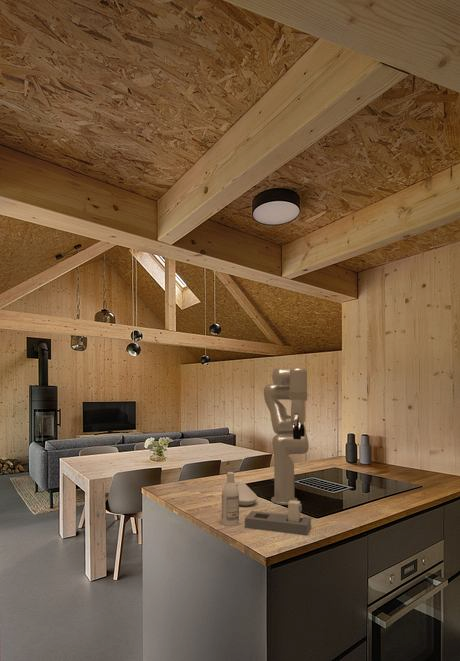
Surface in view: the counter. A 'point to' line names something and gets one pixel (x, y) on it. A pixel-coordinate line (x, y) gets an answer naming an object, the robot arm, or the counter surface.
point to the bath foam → (230, 502)
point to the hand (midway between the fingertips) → (299, 437)
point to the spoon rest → (246, 495)
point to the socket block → (277, 523)
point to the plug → (294, 511)
